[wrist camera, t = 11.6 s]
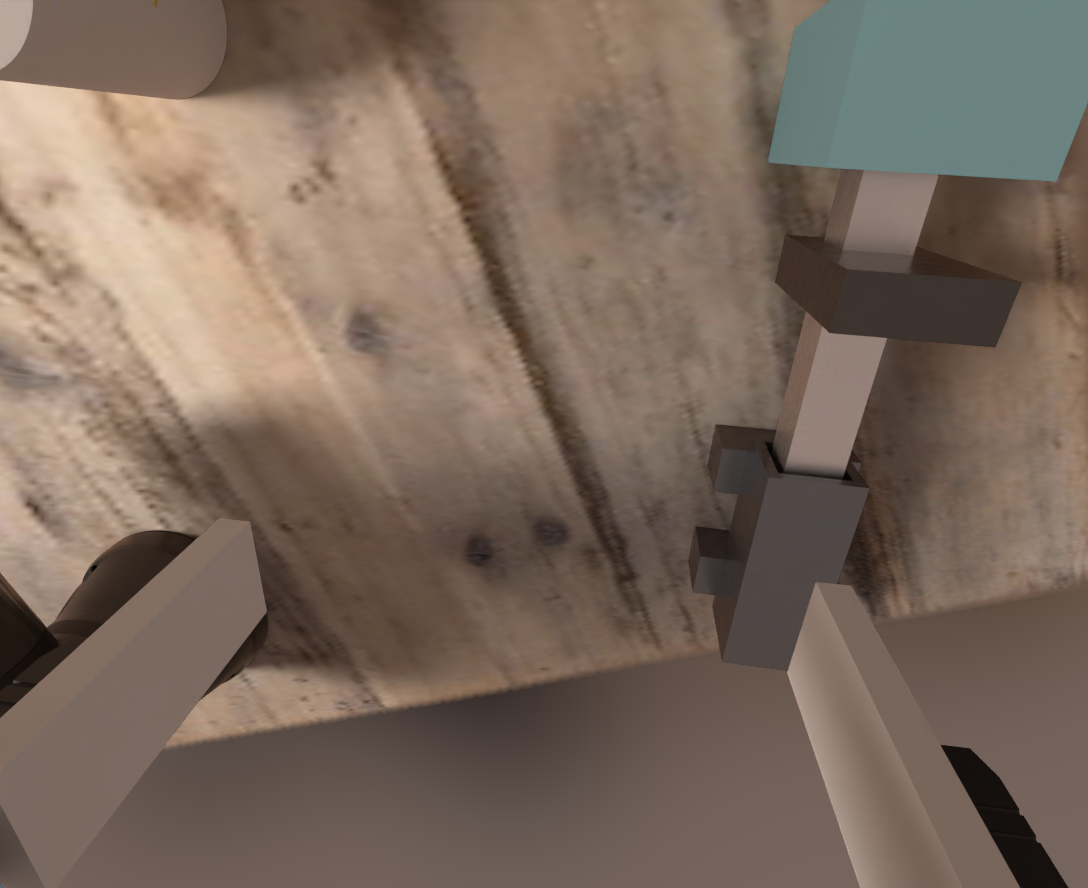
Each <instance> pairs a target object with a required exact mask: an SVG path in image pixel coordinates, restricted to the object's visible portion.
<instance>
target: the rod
mask: <svg viewBox="0 0 1088 888" xmlns="http://www.w3.org/2000/svg"><path fill="white" fill-rule="evenodd" d="M938 176H939V174H923V173H907V172H890V171H873V170H857V169H842V170H841V174H840V178H839V182H838V186H837V190H836V194H835V198H834V202H833V206H832V210H831V214H830V218H829V222H828V226H827V230H826V234H825V238H821V237H807V236H793V235H785V239H784V244H783V248H782V253H781V257H780V262H779V266H778V271H777V275H776V280H775V283H776V284H777V285H778V286H780V287H781V288H782V289H783V290H784V291H785V292H786V293H787V294H788V295H789V296H790V297H791V298H792V299H793V300H795V301H796V302H797V303H798V304H799V305H800V306H801V307H802V308H803V309H804V310H805V311H806V314H805V318H804V322H803V326H802V330H801V334H800V338H799V342H798V346H797V350H796V354H795V358H794V362H793V366H792V370H791V374H790V378H789V382H788V386H787V390H786V394H785V398H784V402H783V406H782V410H781V414H780V418H779V422H778V426H777V430H776V434H775V438H774V442H773V446H772V450H771V454H770V456H771V458H772V460H773V462H774V465H775V467H776V469H777V471H778V473H782V474H792V475H801V476H810V477H819V478H829V479H838V480H842V479H843V476H844V473H845V470H846V466H847V463H848V460H849V457H850V454H851V451H852V448H853V444H854V441H855V438H856V435H857V432H858V429H859V425H860V422H861V419H862V416H863V413H864V410H865V406H866V403H867V400H868V397H869V394H870V391H871V388H872V384H873V381H874V378H875V375H876V372H877V369H878V365H879V362H880V359H881V356H882V353H883V350H884V347H885V343H886V340H887V338H892V339H903V340H915V341H927V342H938V343H950V344H962V345H973V346H985V347H996V345H997V342H998V340H999V338H1000V335H1001V333H1002V330H1003V328H1004V325H1005V323H1006V320H1007V318H1008V315H1009V313H1010V310H1011V308H1012V305H1013V303H1014V300H1015V298H1016V295H1017V293H1018V290H1019V288H1020V285H1021V283H1022V282H1019V281H1016V280H1013V279H1010V278H1007V277H1004V276H1001V275H998V274H996V273H993V272H990V271H987V270H984V269H981V268H978V267H975V266H972V265H969V264H966V263H963V262H960V261H957V260H954V259H951V258H948V257H945V256H943V255H940V254H937V253H934V252H931V251H928V250H925V249H922V248H919V247H916V246H917V242H918V239H919V236H920V233H921V230H922V227H923V224H924V220H925V217H926V214H927V211H928V208H929V205H930V201H931V198H932V195H933V192H934V189H935V186H936V183H937V179H938Z"/></svg>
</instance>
